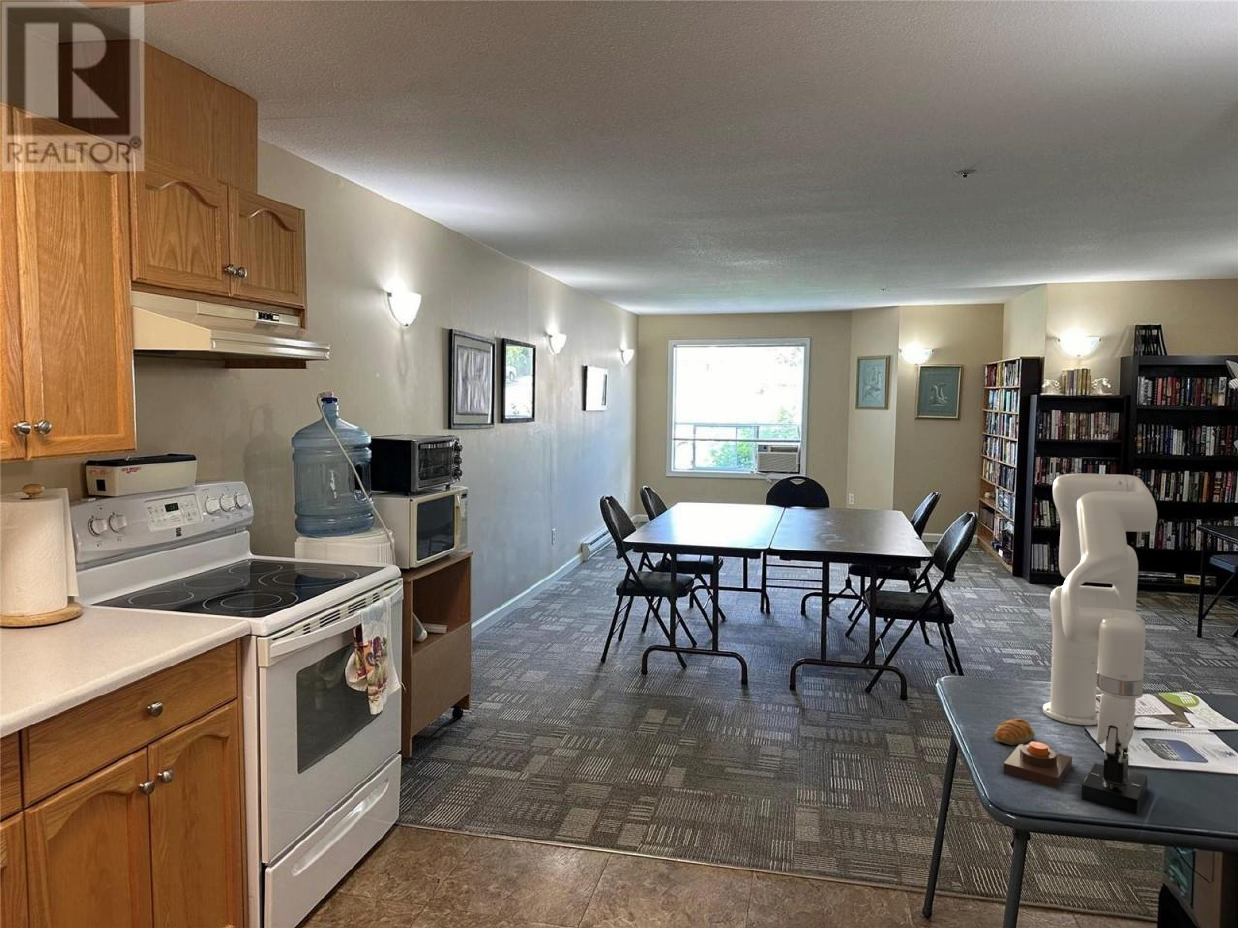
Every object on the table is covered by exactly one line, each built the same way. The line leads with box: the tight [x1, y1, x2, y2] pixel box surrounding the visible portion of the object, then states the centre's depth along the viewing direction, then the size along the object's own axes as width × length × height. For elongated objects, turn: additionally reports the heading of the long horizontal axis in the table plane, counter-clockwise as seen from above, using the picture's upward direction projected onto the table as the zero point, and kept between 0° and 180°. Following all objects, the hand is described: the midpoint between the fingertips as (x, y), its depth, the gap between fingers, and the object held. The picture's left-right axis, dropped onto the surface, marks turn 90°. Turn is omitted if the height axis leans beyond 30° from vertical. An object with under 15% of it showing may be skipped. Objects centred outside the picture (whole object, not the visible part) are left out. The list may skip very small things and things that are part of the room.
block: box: [1003, 743, 1073, 789], centre depth 168 cm, size 12×10×4 cm
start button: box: [1028, 741, 1050, 756], centre depth 167 cm, size 4×4×2 cm
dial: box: [1103, 751, 1130, 785], centre depth 157 cm, size 4×4×5 cm
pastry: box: [994, 718, 1036, 746], centre depth 182 cm, size 9×7×4 cm
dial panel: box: [1081, 762, 1149, 816], centre depth 157 cm, size 12×9×3 cm
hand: (1115, 775), depth 157 cm, fingers closed on dial, 4 cm apart
